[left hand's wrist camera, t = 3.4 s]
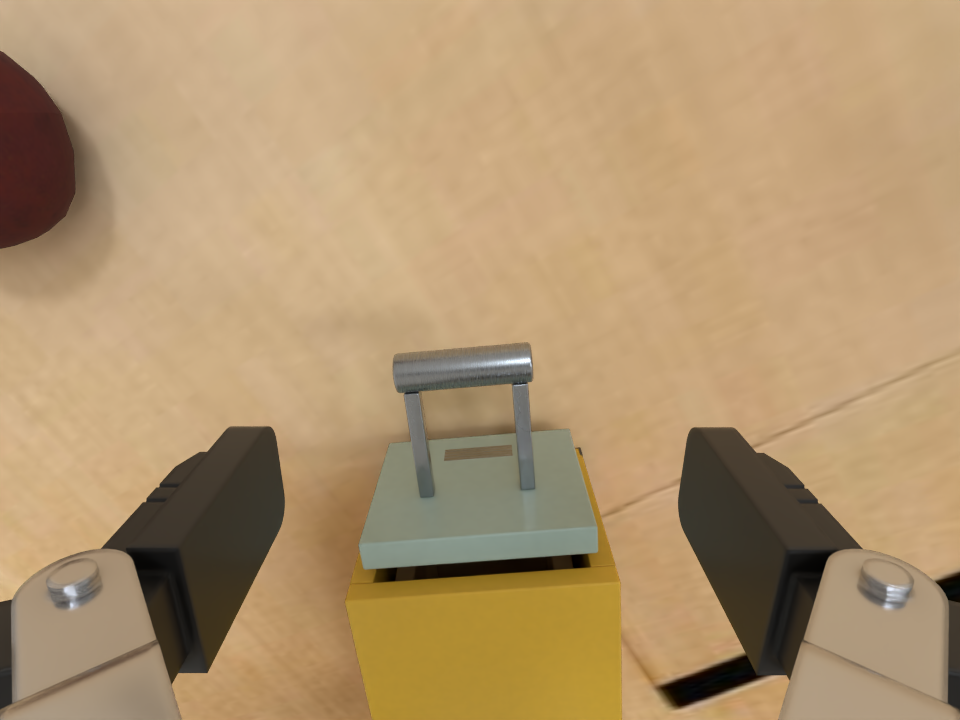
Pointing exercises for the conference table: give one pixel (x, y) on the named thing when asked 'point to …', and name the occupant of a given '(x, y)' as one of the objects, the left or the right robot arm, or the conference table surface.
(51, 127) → the dark maroon ball
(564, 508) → the drawer
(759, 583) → the left robot arm
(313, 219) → the conference table surface
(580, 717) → the cabinet
